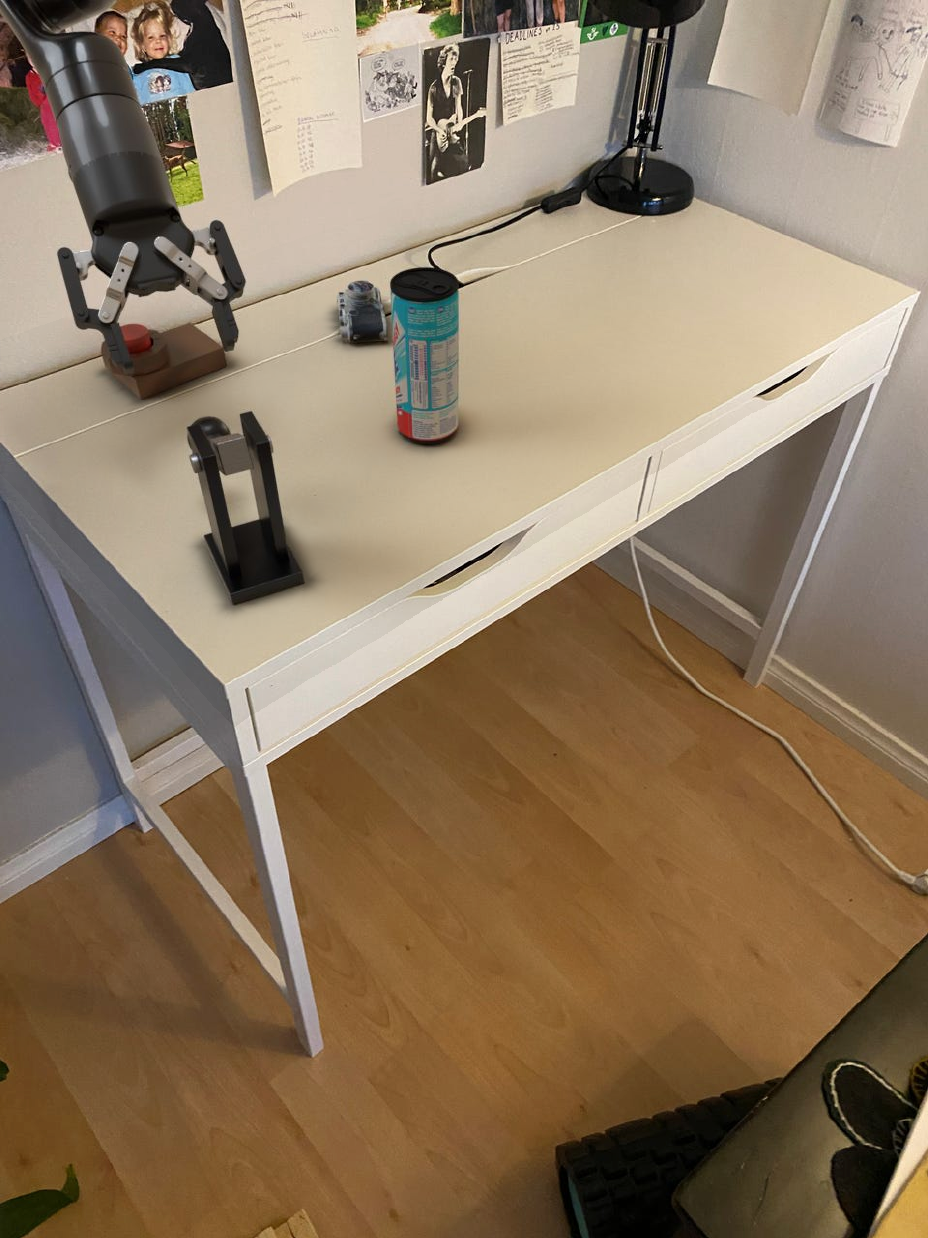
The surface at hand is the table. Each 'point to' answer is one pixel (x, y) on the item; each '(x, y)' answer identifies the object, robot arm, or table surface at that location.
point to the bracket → (254, 549)
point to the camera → (361, 313)
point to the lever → (226, 446)
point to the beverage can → (426, 353)
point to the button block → (169, 360)
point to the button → (136, 338)
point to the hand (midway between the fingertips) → (181, 359)
